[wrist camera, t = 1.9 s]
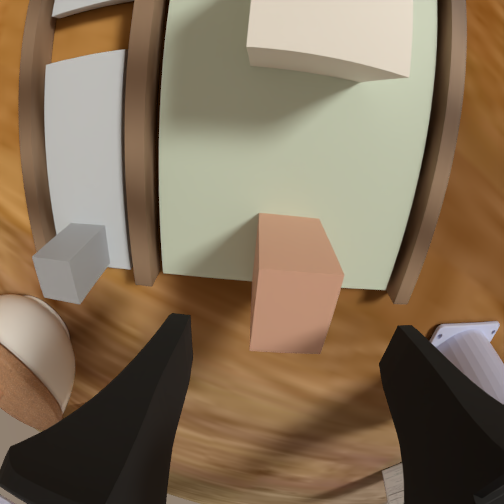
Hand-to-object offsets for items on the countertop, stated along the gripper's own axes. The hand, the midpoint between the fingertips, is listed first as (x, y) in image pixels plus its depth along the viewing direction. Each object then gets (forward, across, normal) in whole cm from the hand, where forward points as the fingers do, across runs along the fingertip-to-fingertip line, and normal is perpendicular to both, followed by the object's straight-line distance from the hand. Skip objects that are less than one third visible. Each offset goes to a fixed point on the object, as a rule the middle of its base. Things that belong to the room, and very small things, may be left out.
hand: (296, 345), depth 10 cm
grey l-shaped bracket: (+8, +11, -4) cm, 14 cm away
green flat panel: (+8, 0, -8) cm, 11 cm away
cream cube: (+7, 0, -12) cm, 13 cm away
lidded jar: (+8, +19, +10) cm, 23 cm away
